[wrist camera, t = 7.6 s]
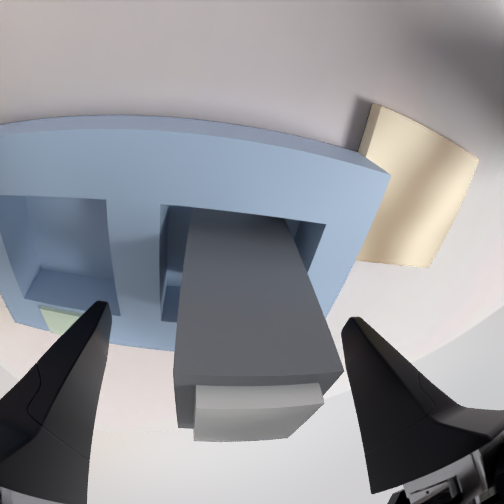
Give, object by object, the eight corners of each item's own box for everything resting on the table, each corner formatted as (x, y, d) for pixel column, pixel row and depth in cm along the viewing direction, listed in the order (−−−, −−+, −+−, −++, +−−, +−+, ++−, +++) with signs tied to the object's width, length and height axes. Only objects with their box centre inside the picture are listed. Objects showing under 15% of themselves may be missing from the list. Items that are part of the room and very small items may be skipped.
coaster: (470, 154, 12) (479, 159, 11) (422, 260, 16) (428, 268, 16) (372, 103, 10) (381, 105, 10) (322, 248, 15) (327, 257, 14)
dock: (357, 152, 12) (394, 177, 9) (292, 319, 18) (303, 360, 15) (-2, 125, 8) (-43, 145, 5) (33, 292, 14) (14, 327, 12)
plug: (282, 213, 12) (351, 391, 6) (263, 279, 15) (296, 440, 8) (192, 202, 12) (172, 397, 5) (187, 273, 14) (178, 443, 7)
